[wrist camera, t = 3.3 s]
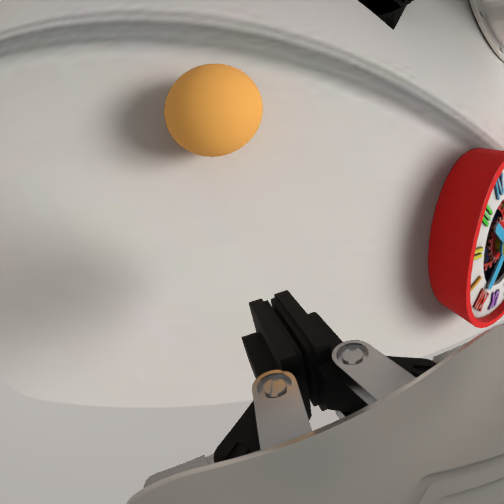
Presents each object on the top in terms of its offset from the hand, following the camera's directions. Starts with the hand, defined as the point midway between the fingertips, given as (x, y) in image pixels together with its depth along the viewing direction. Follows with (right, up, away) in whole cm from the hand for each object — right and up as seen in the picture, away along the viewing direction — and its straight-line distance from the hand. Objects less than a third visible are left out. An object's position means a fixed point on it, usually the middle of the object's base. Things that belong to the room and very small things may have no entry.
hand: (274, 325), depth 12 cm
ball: (-3, +11, +3) cm, 12 cm away
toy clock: (+26, +6, +15) cm, 31 cm away
